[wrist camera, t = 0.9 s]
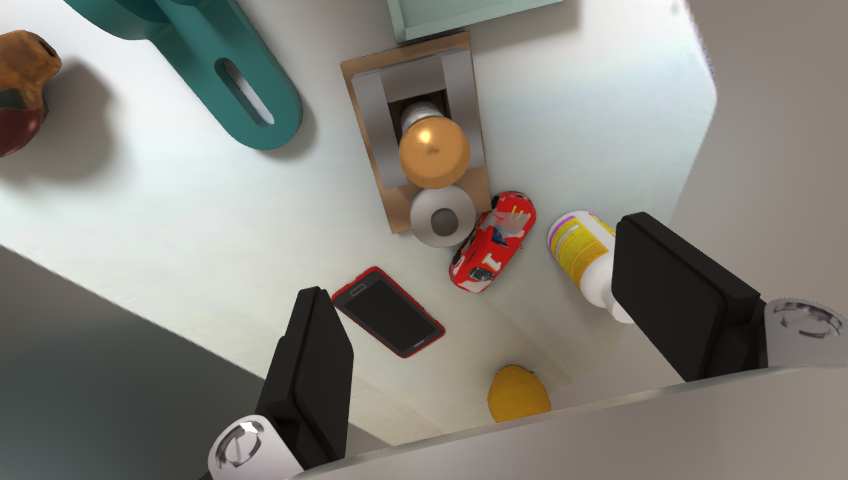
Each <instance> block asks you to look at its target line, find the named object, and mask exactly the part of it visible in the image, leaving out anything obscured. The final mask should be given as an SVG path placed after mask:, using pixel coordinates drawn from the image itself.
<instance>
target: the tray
mask: <svg viewBox="0 0 848 480" xmlns="http://www.w3.org/2000/svg"><path fill="white" fill-rule="evenodd" d="M560 1H564V0H387V4H388V9H389V13H390V17H391V22H392V26H393V31H394V35H395V39H396V42H397V43H399V42H403V41H407V40H411V39H415V38H419V37H422V36H426V35H430V34H434V33H438V32H442V31H446V30H450V29H454V28H458V27H462V26H466V25H470V24H474V23H477V22H481V21H485V20H489V19H493V18H497V17H501V16H505V15H509V14H513V13H517V12H521V11H525V10H529V9H532V8H536V7H540V6H544V5H548V4H552V3H556V2H560Z"/></svg>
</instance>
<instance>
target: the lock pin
mask: <svg viewBox="0 0 848 480" xmlns="http://www.w3.org/2000/svg"><path fill="white" fill-rule="evenodd" d="M399 117H400V123H401V128H402V134H403V135H402V138H401V140H400V145H399V156H400V163H401V167H402V169H403V171H404V173H405V175H406V176H407V177H408V179H409V180H410V181H412V182H413V183H414V184H416V185H418V186H420V187H422V188H426V189H441V188H445V187H447V186H450V185H452V184H453V183H455V182H456V181H457V180H458V179H459V178H460V177H461V176H462V175H463V174H464V172H465V171H466V169H467V167H468V164H469V161H470V145H469V142H468V139H467V137H466V135H465V134H464V132H463V131H462V130H461V128H460V127H459V126H458V125H457V124H456V123H455V122H454V121H452V120H450V119H449V118H446V117H444V116H443V115H442V113H441V112H440V110H439V109H438V107H437V106H436V104H435V103H434V101H433V100H432V99H431V98H430V97H428V96H426V95H423V94H422V95H418V96H414V97H410V98H406V99H405V100H404V101H403V103H402V105H401V107H400V111H399Z"/></svg>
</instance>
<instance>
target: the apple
mask: <svg viewBox="0 0 848 480" xmlns="http://www.w3.org/2000/svg"><path fill="white" fill-rule="evenodd" d="M487 400H488V406H489V410H490V412H491V414H492V416H493V418H494V420H495V421H496V423H500V422H505V421H509V420H514V419H518V418H523V417H528V416H532V415H537V414H541V413H546V412H550V411H551V406H550V401H549V398H548V395H547V392H546V390H545V388H544V386H543V384H542V383H541V382H540V381H539V380H538V379H537V377H536V376H534V375H533V374H531V373H530V372H529V371H527V370H525V369H523V368H521V367H519V366H514V365H511V366H507V367H504V368H503V369H501V370H499V372H498V373H497V374H496V376H495V378H494V380H493V382H492V385H491V387H490V390H489V394H488V399H487Z"/></svg>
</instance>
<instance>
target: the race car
mask: <svg viewBox="0 0 848 480" xmlns="http://www.w3.org/2000/svg"><path fill="white" fill-rule="evenodd" d="M491 207H492V210H491V211H487V212H484V213H483V215H482V216H481V218H480V219H479V221H478V222H477V224H476V225H475V227H474V228H473V230H472V231H471V233H470V234H469V236H468V237H467V239H466V240H465V241H464V243H463V244H462V246H461V247H460V248H461V250H462V251H461V250H458V251H457V254H456V255H455V256H454V257H453V263H452V262H451V264H450V267H449V275H450V279H451V281H452V282H453V283H454V284H455V285H456V286H458V287H459V288H461V289H464V290H466V291H469V292H472V293H479V292H482V291H483V290H485V289H486V288H487V286H488V285H489V284H490V283H491V282H492V281H493V280H494V279H495V278H496V276H497V275H498V274H499V273H500V272H501V271H502V269H503V268H504V267H505V265H506V264H507V263H508V261H509V260H510V259H511V257H512V256H513V255H514V253H515V252H516V251H517V249H518V247H519V248H521V249H523V247H522V245H521V244H520V243H521V242H522V240H523V239H524V237H525V236H526V234H527V233H528V231H529V230H530V228H531V227H532V226H533V224H534V223H535V220H536V211H535V208H534V206H533V204H532V201H531V200H530V199H529V198H528V197H527V196H526V195H525V194H523V193H520V192H515V191H508V192H503V193H499V196H494V199H493V200H492V202H491ZM519 245H520V246H519Z"/></svg>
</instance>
